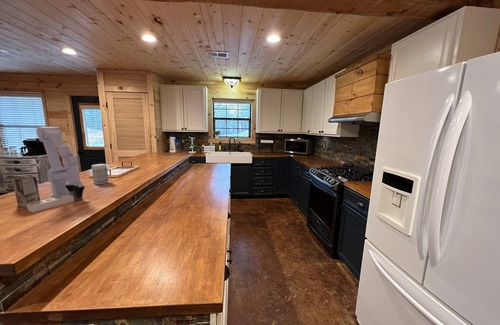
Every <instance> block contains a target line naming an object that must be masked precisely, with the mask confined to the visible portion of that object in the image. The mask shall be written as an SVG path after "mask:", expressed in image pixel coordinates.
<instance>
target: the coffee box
mask: <svg viewBox="0 0 500 325" xmlns="http://www.w3.org/2000/svg"><path fill="white" fill-rule="evenodd" d="M11 180H12V184H13V185H12V186H13V189H14V194H15V199H16V203H17V204H16V205H17V206H19V207H23V208H27V204H29V203H34V202H38V201H41V197H40V191H39V187H38V180H37V177H36V176H31V175H24V176H23V175H22V176H18V177H12V178H11Z"/></svg>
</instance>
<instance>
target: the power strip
mask: <svg viewBox="0 0 500 325" xmlns="http://www.w3.org/2000/svg"><path fill="white" fill-rule="evenodd" d="M73 202H75V200H74V197H73V195H69V194H67V195H63V196H59V197H52V198H46V199H43V200H40V201H38V202H34V203H29V204H27V207H26V208H27V211H29V212H31V213H36V212H39V211H43V210H47V209H50V208H55V207H58V206H63V205H65V204H69V203H73Z"/></svg>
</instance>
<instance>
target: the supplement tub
mask: <svg viewBox="0 0 500 325" xmlns="http://www.w3.org/2000/svg"><path fill="white" fill-rule="evenodd" d="M107 166H108V165H107V164H106V163H97V164H92V165H91V171H92V172H91V173H92V178H93V180H92V181H93V184H95V185H104V184H107V183H109V181H110V180H109V175H108V167H107Z"/></svg>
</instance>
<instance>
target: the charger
mask: <svg viewBox="0 0 500 325" xmlns="http://www.w3.org/2000/svg"><path fill="white" fill-rule="evenodd" d="M69 195H73V197H74V201H79V200H82V199H83V196H82V197H81V198H77V196H76V193H75V191H69Z"/></svg>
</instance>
